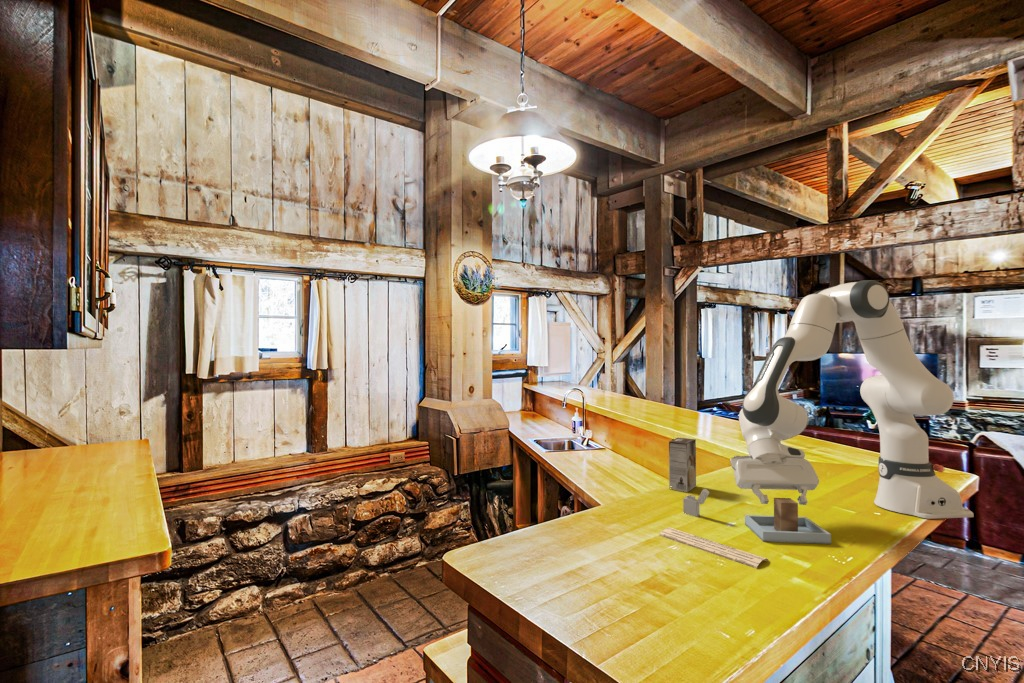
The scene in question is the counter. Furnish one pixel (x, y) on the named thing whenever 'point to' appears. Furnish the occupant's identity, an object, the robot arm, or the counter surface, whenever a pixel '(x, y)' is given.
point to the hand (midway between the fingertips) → (784, 503)
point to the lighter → (694, 503)
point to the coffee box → (682, 464)
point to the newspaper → (713, 547)
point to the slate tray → (805, 534)
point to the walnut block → (785, 514)
